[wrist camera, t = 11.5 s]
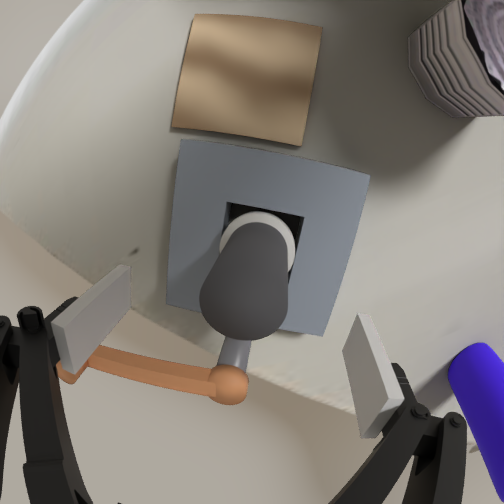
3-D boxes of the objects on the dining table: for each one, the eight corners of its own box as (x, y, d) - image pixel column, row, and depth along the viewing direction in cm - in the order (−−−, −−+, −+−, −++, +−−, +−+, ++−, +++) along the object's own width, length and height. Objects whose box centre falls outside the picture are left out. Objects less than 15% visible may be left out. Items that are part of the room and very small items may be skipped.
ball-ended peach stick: (79, 357, 19) (59, 382, 16) (71, 330, 18) (47, 355, 15) (247, 394, 18) (241, 431, 15) (249, 367, 17) (242, 405, 14)
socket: (191, 139, 26) (120, 139, 14) (362, 172, 25) (422, 196, 13) (175, 290, 32) (122, 367, 20) (320, 320, 31) (333, 413, 19)
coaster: (196, 16, 21) (195, 14, 21) (321, 29, 21) (322, 27, 20) (173, 127, 26) (171, 126, 25) (300, 146, 25) (301, 146, 25)
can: (419, 2, 18) (472, -46, 7) (498, 62, 18) (566, 48, 7) (390, 80, 22) (453, 47, 11) (476, 141, 22) (555, 150, 11)
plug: (234, 198, 28) (194, 242, 15) (299, 210, 27) (311, 265, 15) (224, 258, 30) (186, 335, 18) (286, 271, 29) (284, 356, 17)
